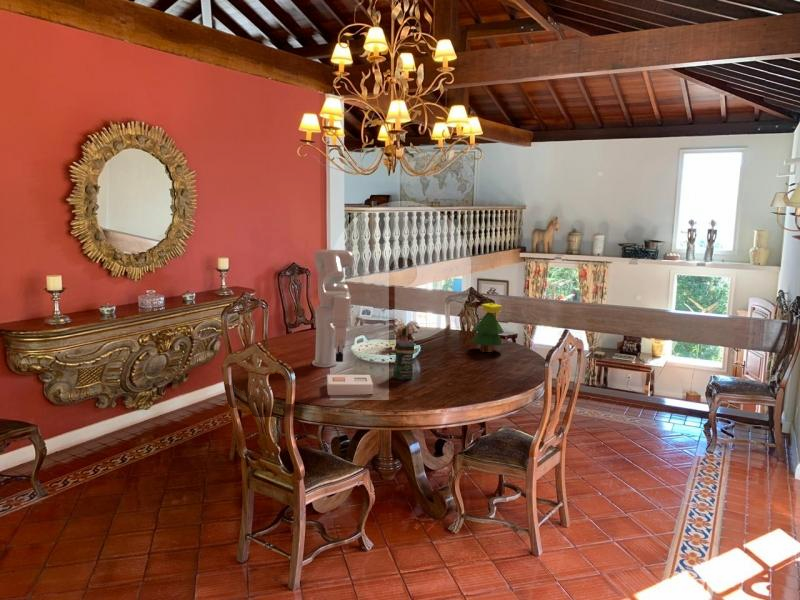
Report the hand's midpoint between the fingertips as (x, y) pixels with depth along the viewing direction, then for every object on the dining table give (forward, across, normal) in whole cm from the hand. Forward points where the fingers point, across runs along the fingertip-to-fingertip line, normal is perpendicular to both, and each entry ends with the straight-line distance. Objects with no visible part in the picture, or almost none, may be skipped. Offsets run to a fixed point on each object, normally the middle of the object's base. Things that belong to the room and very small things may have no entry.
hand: (339, 361), depth 271 cm
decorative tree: (+16, -68, +92) cm, 115 cm away
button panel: (+13, +1, +5) cm, 14 cm away
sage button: (+12, +1, +10) cm, 16 cm away
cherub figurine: (+16, -71, +44) cm, 85 cm away
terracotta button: (+12, +1, 0) cm, 12 cm away
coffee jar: (+14, -17, +33) cm, 40 cm away
